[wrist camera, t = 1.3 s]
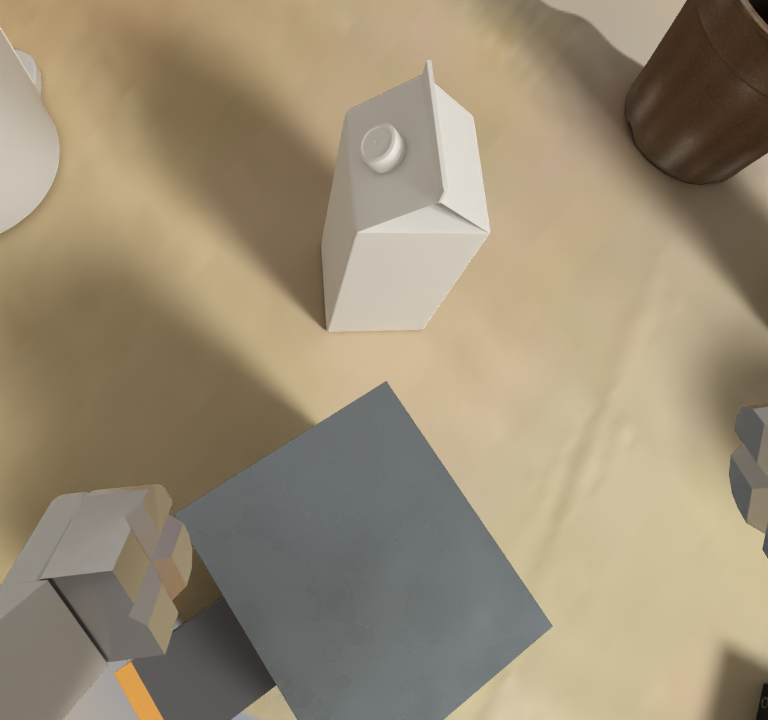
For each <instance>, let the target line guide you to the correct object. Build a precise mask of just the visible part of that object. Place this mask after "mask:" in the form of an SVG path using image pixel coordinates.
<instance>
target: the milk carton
mask: <svg viewBox="0 0 768 720" xmlns="http://www.w3.org/2000/svg"><path fill="white" fill-rule="evenodd" d="M489 234H490V226H489V218H488V212H487V205H486V198H485V191H484V185H483V178H482V171H481V164H480V158H479V151H478V144H477V137H476V131H475V124H474V119H473V116H472V115H471V114H470V113H469V112H467V111H466V110H465V109H464V108H463V107H462V106H461V105H459V104H458V103H457V102H456V101H455V100H454V99H452V98H451V97H450V96H449V95H448V94H447V93H446V92H444V91H443V90H442V89H441V88H440V87H439V86H437V85H436V84H435V83H434V78H433V70H432V62H431V60H429V59H427V62H426V65H425V68H424V71H423V74H422V75H420V76H418V77H416V78H414V79H412V80H410V81H407V82H405V83H403V84H401V85H399V86H397V87H395V88H393V89H391V90H388V91H386V92H384V93H382V94H380V95H378V96H376V97H374V98H372V99H369V100H367V101H365V102H363V103H361V104H359V105H357V106H355V107H353V108H351V109H349V110H347V112H346V115H345V119H344V124H343V129H342V134H341V140H340V145H339V150H338V156H337V161H336V166H335V172H334V177H333V182H332V188H331V193H330V198H329V204H328V209H327V214H326V220H325V225H324V230H323V236H322V241H321V255H322V270H323V285H324V301H325V316H326V328H327V331H328V332H344V331H388V330H423V329H424V327H425V326H426V324H427V323H428V322H429V320H430V319H431V317H432V316H433V314H434V313H435V311H436V310H437V309H438V307H439V306H440V304H441V303H442V301H443V300H444V298H445V297H446V296H447V294H448V293H449V291H450V290H451V288H452V287H453V285H454V284H455V283H456V281H457V280H458V278H459V277H460V275H461V274H462V272H463V271H464V270H465V268H466V267H467V265H468V264H469V262H470V261H471V260H472V258H473V257H474V255H475V254H476V252H477V251H478V249H479V248H480V247H481V245H482V244H483V242H484V241H485V239H486V238H487V236H488V235H489Z"/></svg>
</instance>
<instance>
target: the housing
mask: <svg viewBox="0 0 768 720" xmlns="http://www.w3.org/2000/svg"><path fill="white" fill-rule="evenodd" d="M175 516H176V517H177V519H178V520H179V521H181V522H183V523H184V525H185V527H186V529H187V531H188V533H189V537H190V541H191V543H192V544H193V546H194V548H195V549H196V551H197V553H198V554H199V556H200V558H201V559H202V561H203V563H204V564H205V566H206V568H207V569H208V571H209V573H210V574H211V576H212V578H213V579H214V581H215V583H216V584H217V586H218V588H219V589H220V591H221V593H222V594H223V596H224V598H225V599H226V601H227V603H228V604H229V606H230V608H231V609H232V611H233V613H234V615H235V616H236V618H237V620H238V621H239V623H240V625H241V626H242V628H243V630H244V631H245V633H246V635H247V636H248V638H249V640H250V641H251V643H252V645H253V646H254V648H255V650H256V651H257V653H258V655H259V656H260V658H261V660H262V661H263V663H264V665H265V666H266V668H267V670H268V671H269V673H270V675H271V676H272V678H273V680H274V681H275V683H276V685H277V686H278V688H279V690H280V691H281V693H282V695H283V696H284V698H285V700H286V702H287V703H288V705H289V707H290V708H291V710H292V712H293V713H294V715H295V717H296V718H297V720H444V719H445V718H446V717H447V716H448V715H449V714H451V713H452V712H453V711H454V710H455V709H456V708H458V707H459V706H460V705H461V704H462V703H464V702H465V701H466V700H467V699H468V698H469V697H471V696H472V695H473V694H474V693H475V692H476V691H478V690H479V689H480V688H481V687H482V686H483V685H485V684H486V683H487V682H488V681H489V680H490V679H492V678H493V677H494V676H495V675H496V674H497V673H499V672H500V671H501V670H502V669H503V668H504V667H506V666H507V665H508V664H509V663H510V662H512V661H513V660H514V659H515V658H516V657H517V656H519V655H520V654H521V653H522V652H523V651H524V650H526V649H527V648H528V647H529V646H530V645H531V644H533V643H534V642H535V641H536V640H537V639H538V638H540V637H541V636H542V635H543V634H544V633H545V632H547V631H548V630H549V629H550V628H551V627H552V624H551V623H550V621H549V620H548V618H547V617H546V616H545V614H544V613H543V611H542V610H541V608H540V607H539V605H538V604H537V602H536V601H535V599H534V598H533V596H532V595H531V593H530V592H529V590H528V589H527V588H526V586H525V585H524V583H523V582H522V580H521V579H520V577H519V576H518V574H517V573H516V571H515V570H514V568H513V567H512V565H511V564H510V563H509V561H508V560H507V558H506V557H505V555H504V554H503V552H502V551H501V549H500V548H499V546H498V545H497V543H496V542H495V540H494V539H493V538H492V536H491V535H490V533H489V532H488V530H487V529H486V527H485V526H484V524H483V523H482V521H481V520H480V518H479V517H478V515H477V514H476V513H475V511H474V510H473V508H472V507H471V505H470V504H469V502H468V501H467V499H466V498H465V496H464V495H463V493H462V492H461V490H460V489H459V487H458V486H457V485H456V483H455V482H454V480H453V479H452V477H451V476H450V474H449V473H448V471H447V470H446V468H445V467H444V465H443V464H442V462H441V461H440V460H439V458H438V457H437V455H436V454H435V452H434V451H433V449H432V448H431V446H430V445H429V443H428V442H427V440H426V439H425V437H424V436H423V435H422V433H421V432H420V430H419V429H418V427H417V426H416V424H415V423H414V421H413V420H412V418H411V417H410V415H409V414H408V412H407V411H406V409H405V408H404V407H403V405H402V404H401V402H400V401H399V399H398V398H397V396H396V395H395V393H394V392H393V390H392V389H391V387H390V386H389V384H388V383H387V382H384V383H382V384H381V385H379V386H378V387H376V388H374V389H373V390H371V391H370V392H368V393H366V394H365V395H363V396H362V397H360V398H358V399H357V400H355V401H354V402H352V403H350V404H349V405H347V406H346V407H344V408H342V409H341V410H339V411H338V412H336V413H334V414H333V415H331V416H330V417H328V418H327V419H325V420H323V421H322V422H320V423H319V424H317V425H315V426H314V427H312V428H311V429H309V430H307V431H306V432H304V433H303V434H301V435H299V436H298V437H296V438H295V439H293V440H291V441H290V442H288V443H287V444H285V445H283V446H282V447H280V448H279V449H277V450H275V451H274V452H272V453H271V454H269V455H267V456H266V457H264V458H263V459H261V460H259V461H258V462H256V463H255V464H253V465H251V466H250V467H248V468H247V469H245V470H243V471H242V472H240V473H239V474H237V475H235V476H234V477H232V478H231V479H229V480H228V481H226V482H224V483H223V484H221V485H220V486H218V487H216V488H215V489H213V490H212V491H210V492H208V493H207V494H205V495H204V496H202V497H200V498H199V499H197V500H196V501H194V502H192V503H191V504H189V505H188V506H186V507H184V508H183V509H181V510H180V511H178V512H176V513H175Z"/></svg>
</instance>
